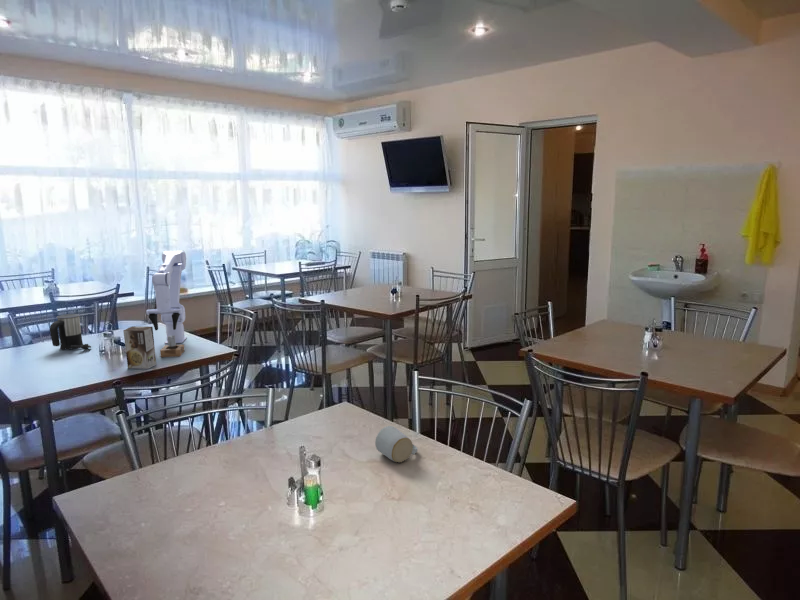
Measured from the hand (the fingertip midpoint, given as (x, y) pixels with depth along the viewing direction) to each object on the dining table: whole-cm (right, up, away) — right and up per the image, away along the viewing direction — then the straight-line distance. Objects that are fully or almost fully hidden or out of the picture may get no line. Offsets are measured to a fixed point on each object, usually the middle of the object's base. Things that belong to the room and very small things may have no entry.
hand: (165, 329), depth 238 cm
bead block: (+5, -10, -4) cm, 12 cm away
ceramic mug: (+104, -29, -95) cm, 144 cm away
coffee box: (0, -14, -21) cm, 25 cm away
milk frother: (-42, -9, +4) cm, 44 cm away
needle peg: (+5, -10, -4) cm, 12 cm away
